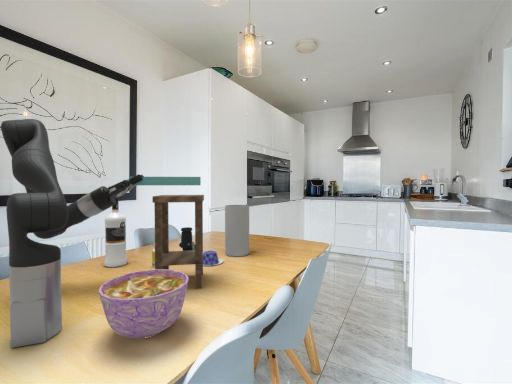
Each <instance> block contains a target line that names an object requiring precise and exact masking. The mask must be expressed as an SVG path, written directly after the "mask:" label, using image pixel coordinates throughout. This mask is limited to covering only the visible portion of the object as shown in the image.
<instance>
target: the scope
mask: <svg viewBox="0 0 512 384" xmlns="http://www.w3.org/2000/svg"><path fill="white" fill-rule="evenodd" d="M180 231H181V234H180V235H181V237H180V238H181V239H180V243H179V244H178V246H179V248H181V249H182V251H191V250H195V241H193V232H192V231H193V228H192V227H190V226H189V227H187V226H186V227H181V228H180Z"/></svg>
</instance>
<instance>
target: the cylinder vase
mask: <svg viewBox="0 0 512 384" xmlns="http://www.w3.org/2000/svg"><path fill="white" fill-rule="evenodd" d="M224 253H225V255H226V256H229V257H234V258H235V257H245V256H247V255H249V254H250V205H249V204H248V205H247V204H227V205H224Z"/></svg>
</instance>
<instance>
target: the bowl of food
mask: <svg viewBox="0 0 512 384" xmlns="http://www.w3.org/2000/svg"><path fill="white" fill-rule="evenodd" d="M189 281H190V278H189V276H188V274H186V273H184V272H183V271H179V270H174V269H169V270H166V269H156V270H155V269H147V270H138V271H133V272H129V273H128V272H127V273H125V274H121V275H119V276H116V277H113V278H111V279H108V280H106V281H105V282H104V283H103V284H101V285H100V286H99V289H98V294H99V295H98V296H99V299H100V302H101V305H102V310H103V312H104V313H103V314H104V316H105V318H106V322H107V323H108V326H109V327H110V328H111V330H112V331H113V332H114V333H116V334H117V335H118V336H119V335H120V336H121V337H126V338H127V337H128V338H133V339H137V338H142V339H146V338H145V337H148V338H151V337H150V336H152V337H154V336H157V335H158V334H160V333H161V332H162V331H163V332H164V331H165V330H167V328H170V327H171V326H172V325H174V323H176V321H177V320H178V318H179V317H180V314H181V312H182V309H183V307H184V302H185V298H186V295H187V294H186V293H187V289H188V285H189ZM156 334H157V335H156ZM153 335H154V336H153Z"/></svg>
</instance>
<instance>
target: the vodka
mask: <svg viewBox="0 0 512 384" xmlns="http://www.w3.org/2000/svg"><path fill="white" fill-rule="evenodd" d="M115 200H116V204H115V205H113V206H112V207H111V212H110V213H109V214H108V215H107V216H105V218H104V227H105V229H104V230H105V243H104V245H105V246H104V247H105V254H104V261H103V265H104V267H106V268H118V267H122V266H123V267H124V266H125V265H126V264H127V263H128V256H127V255H128V254H127V241H126V240H127V235H126V233H127V232H126V231H127V230H126V229H127V228H126V226H127V224H126V223H127V218H126V216H125V215H124V214H122V213H121V212H120V210H119V207H120V206H119V205H120V204H119V197H115Z"/></svg>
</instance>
